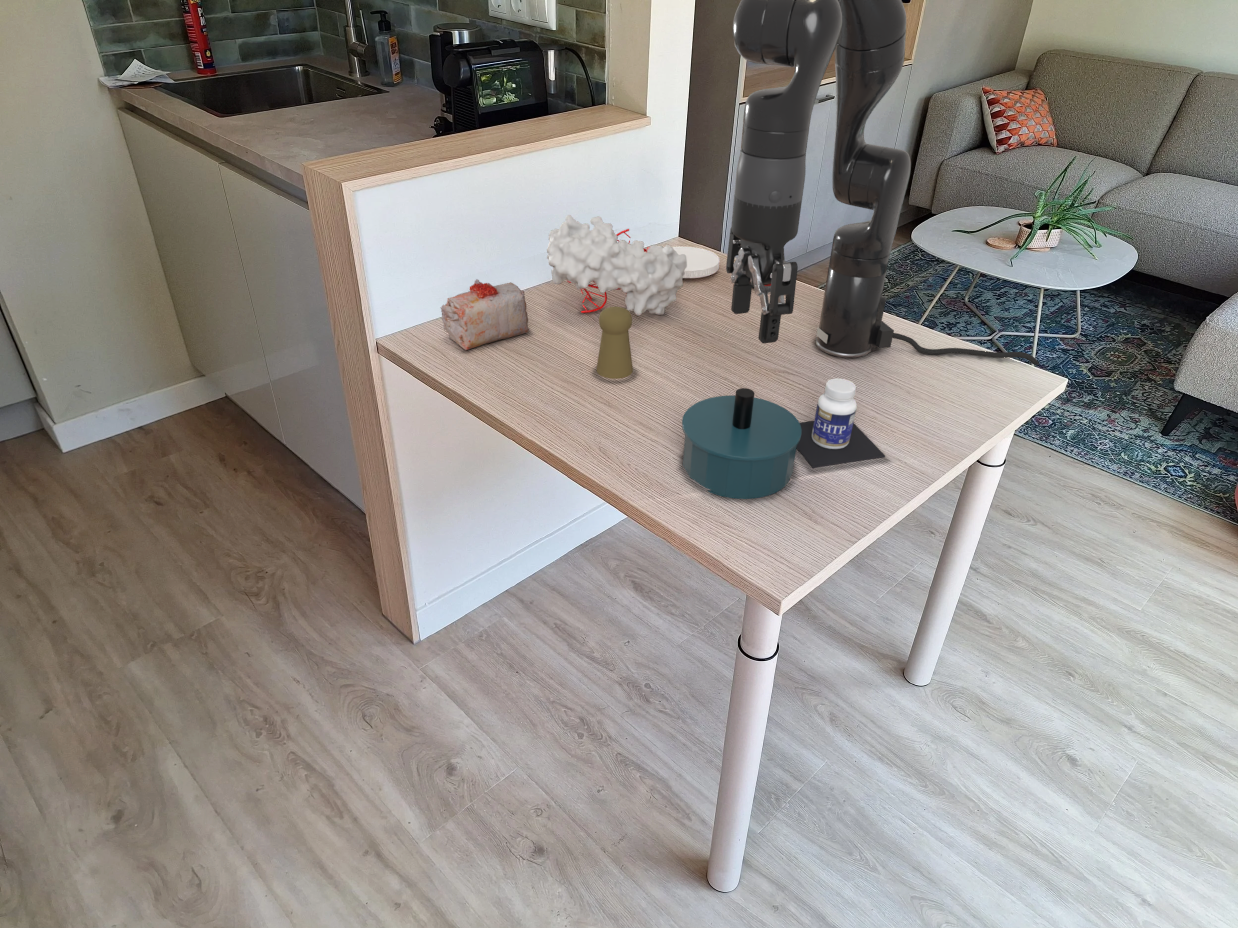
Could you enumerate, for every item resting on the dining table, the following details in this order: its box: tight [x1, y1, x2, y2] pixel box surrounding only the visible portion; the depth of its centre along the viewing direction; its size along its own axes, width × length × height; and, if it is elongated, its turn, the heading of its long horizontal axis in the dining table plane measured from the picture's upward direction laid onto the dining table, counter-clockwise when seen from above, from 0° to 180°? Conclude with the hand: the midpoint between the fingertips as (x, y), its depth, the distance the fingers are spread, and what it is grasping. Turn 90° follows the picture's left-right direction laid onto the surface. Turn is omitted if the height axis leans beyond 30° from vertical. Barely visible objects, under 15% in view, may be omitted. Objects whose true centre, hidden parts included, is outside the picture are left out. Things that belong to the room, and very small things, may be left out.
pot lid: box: [681, 387, 801, 461], centre depth 110 cm, size 16×16×6 cm
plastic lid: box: [672, 245, 721, 279], centre depth 173 cm, size 14×14×2 cm
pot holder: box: [796, 420, 886, 469], centre depth 119 cm, size 11×11×1 cm
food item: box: [439, 278, 530, 351], centre depth 144 cm, size 14×8×10 cm, turn 125°
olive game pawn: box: [596, 305, 634, 380], centre depth 133 cm, size 6×6×11 cm
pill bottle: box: [812, 377, 858, 449], centre depth 117 cm, size 5×5×9 cm
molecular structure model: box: [546, 214, 687, 316], centre depth 152 cm, size 20×18×25 cm
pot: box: [682, 435, 797, 500], centre depth 113 cm, size 15×15×6 cm
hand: (753, 326), depth 103 cm, fingers open, 8 cm apart
